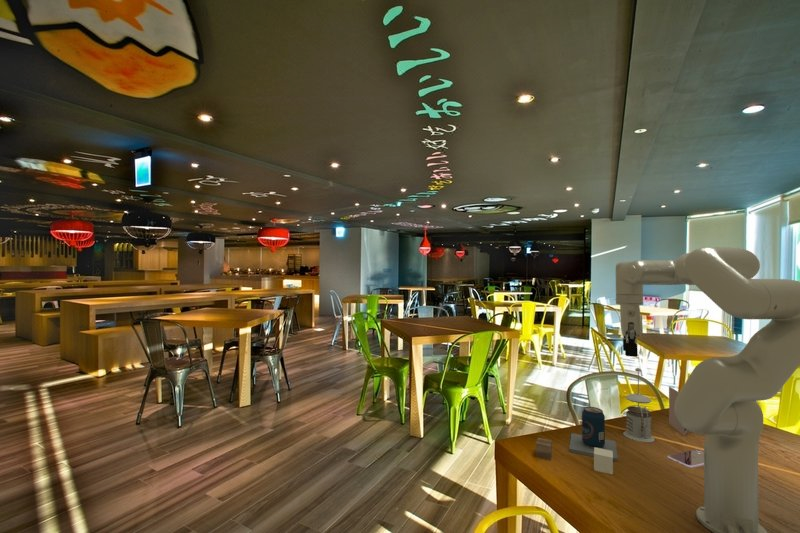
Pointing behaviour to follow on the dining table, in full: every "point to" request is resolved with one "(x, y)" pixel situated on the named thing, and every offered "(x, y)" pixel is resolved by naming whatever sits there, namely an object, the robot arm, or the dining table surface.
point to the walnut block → (544, 448)
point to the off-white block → (603, 460)
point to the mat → (581, 448)
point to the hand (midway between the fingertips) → (630, 353)
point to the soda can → (593, 427)
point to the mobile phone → (689, 458)
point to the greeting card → (672, 417)
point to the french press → (638, 418)
